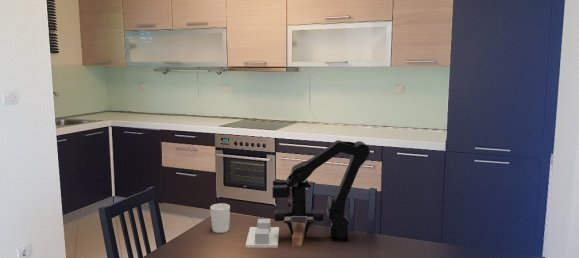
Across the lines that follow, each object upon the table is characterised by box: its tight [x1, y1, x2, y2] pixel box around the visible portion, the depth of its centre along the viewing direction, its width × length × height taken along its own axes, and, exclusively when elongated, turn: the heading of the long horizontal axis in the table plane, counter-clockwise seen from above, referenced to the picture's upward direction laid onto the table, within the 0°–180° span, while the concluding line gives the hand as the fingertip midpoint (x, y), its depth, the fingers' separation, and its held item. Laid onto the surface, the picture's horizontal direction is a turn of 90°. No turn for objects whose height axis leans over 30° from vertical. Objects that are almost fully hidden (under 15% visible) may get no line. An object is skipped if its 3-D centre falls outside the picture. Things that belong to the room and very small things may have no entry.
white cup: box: [209, 203, 231, 234], centre depth 191 cm, size 8×8×10 cm
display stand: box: [245, 218, 280, 249], centre depth 183 cm, size 12×18×5 cm, turn 179°
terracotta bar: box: [291, 222, 306, 248], centre depth 182 cm, size 4×15×4 cm, turn 173°
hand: (298, 236), depth 182 cm, fingers open, 4 cm apart
